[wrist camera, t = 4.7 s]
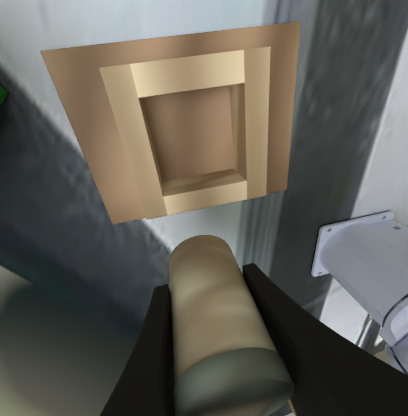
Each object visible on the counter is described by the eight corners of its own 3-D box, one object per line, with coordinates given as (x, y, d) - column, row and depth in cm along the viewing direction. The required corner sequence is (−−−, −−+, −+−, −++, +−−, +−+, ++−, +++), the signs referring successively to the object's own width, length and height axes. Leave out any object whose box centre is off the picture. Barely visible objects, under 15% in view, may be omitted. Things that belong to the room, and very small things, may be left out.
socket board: (292, 26, 14) (335, 2, 10) (281, 185, 20) (306, 204, 16) (48, 54, 12) (4, 36, 9) (115, 218, 18) (104, 246, 15)
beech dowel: (230, 227, 12) (301, 362, 6) (234, 275, 14) (289, 411, 8) (161, 242, 12) (161, 403, 6) (175, 289, 14) (187, 444, 8)
